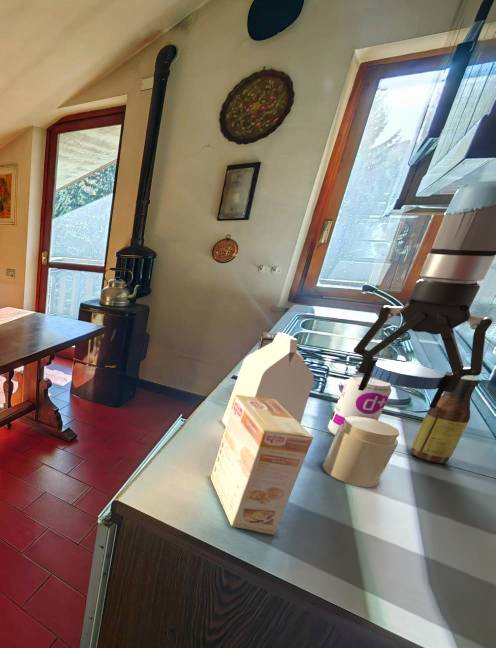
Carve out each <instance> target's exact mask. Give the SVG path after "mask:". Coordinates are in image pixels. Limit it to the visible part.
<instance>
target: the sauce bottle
mask: <svg viewBox="0 0 496 648" xmlns="http://www.w3.org/2000/svg"><path fill="white" fill-rule="evenodd" d="M480 381H481V380H480V379H479V378H477V377H476V376H472V375H467V376H463V377H461V379H460V381H459V383H458V385H457V387H456V388H455V390H454V391H453V392H452V393H450V392H446V391H444V392H443V394H442V395H441V397H440V399H439V401H438V403H437V405H436V407H435V409H434V408H430V407H428V410H427V412H426V414H425V416H424V418H423V420H422V422H421V423H420V424H421V425H420V426H419V429H418V431H417V433H416V435H415V438H414V439H413V443H412V444H411V449H410V453H411V454H412V455H414V456H415V457H417V458H419V459H421V460H424V461H426V462H431V463H435V464H446V463H448V462H449V461H450V458H452V457H453V455H454V452H455V450H456V448H457V446H458V444H459V442H460V440H461V438H462V436H463V434H464V432H465V430H466V429H467V426H468V424H469V422H470V419H471V398H472V395H473V393H474V391H475V388H476V387H478V386H479V384H480Z"/></svg>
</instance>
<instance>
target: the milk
mask: <svg viewBox="0 0 496 648" xmlns="http://www.w3.org/2000/svg"><path fill="white" fill-rule="evenodd" d="M276 334H277V335H276V337H275V338H274V340H273V342H272V343H270V344H268V345H266V346H264V347H263V348H261V349H259V350H258V349H257V350H255V351H253V352H252V353H250V354H248V355H247V356H246V357H244V359H243V361H242V364H241V367H240V369H239V373H238V375H237V378H236V381H235V383H234V386H233V390H232V392H231V395H230V398H229V401H228V403H227V406H226V409H225V411H224V415H223V417H222V420H221V423H222V424H223V425H224V427H226V425H227V422H228V418H229V415H230V412H231V408H232V405H233V402H234V398H235V395H243V396H251V397H261V398H269V399H275V400H276V401H277V402H278V403H279V404H280V405H281V406H282V407H283V408H284V409H285V410H286V411H287V412H288V413H289V414H290V415H291V416H292V417H293V418H294V419H295V420H296V421H297V422H298V423H299V424H300V425H302V424H301V423H302V420H303V416H304V414H305V410H306V407H307V404H308V400H309V397H310V394H311V390H312V387H313V383H314V380H315V376H314V373H313V371H312V370H311V368H310V367H309V366H308V365H307V364H306V362H305V361H304V359H305V358H304V356H303V355H302V354H301V353H300V352H299V351H298V338H295V337H293V336H291V335H289V334H287V333H286V332H277V333H276Z"/></svg>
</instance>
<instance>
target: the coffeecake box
mask: <svg viewBox="0 0 496 648" xmlns="http://www.w3.org/2000/svg"><path fill="white" fill-rule="evenodd" d="M313 440H314V436H313V435H312V434H311V433H309V432H308V430H307V429H305V427H303V425H302V424H299V423H298V422H297V421H296V420H295V419H294V418H293V417H292V416H291V415H290V414H289V413H288V412H287V411H286V410H285V409H284V408H283V407H282V406H281V405H280V404H279V403H278V402H277V401H276V400H275V399H269V398H261V397H251V396H243V395H235V398H234V402H233V405H232V408H231V412H230V415H229V418H228V422H227V425H226V426H225V428H224V432H223V435H222V439H221V442H220V446H219V449H218V453H217V454H216V455H217V456H216V458H215V462H214V466H213V469H212V472H211V475H210V476H211V477H210V480H211V483H212V485H213V487H214V490H215V492H216V494H217V497H218V499H219V502H220V504H221V507H222V508H223V511H224V512H225V515H226V517H227V520H228V522H229V524H230V526H231V528H236V529H237V528H238V529H243V530H249V531H253V532H257V533H262V534H267V535H273V536H275V535H276V531H277V530H278V527H279V524H280V522H281V520H282V517H283V515H284V512H285V510H286V506H287V504H288V502H289V499H290V497H291V494H292V492H293V489H294V487H295V484H296V482H297V479H298V477H299V474H300V472H301V470H302V467H303V465H304V462H305V459H306V458H307V455H308V454H307V453H308V451H309V449H310V448H311V444H312V442H313Z"/></svg>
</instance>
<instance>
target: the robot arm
mask: <svg viewBox="0 0 496 648" xmlns="http://www.w3.org/2000/svg"><path fill="white" fill-rule="evenodd" d="M443 215H444V216H443V219H442V221H441V224H440V226H439V229H438V231H437V234H436V235H435V239H434V241H433V244H432V246H431V249H430V250H429V252H428V254H427V255H426V259H425V261H424V263H423V266H422V268H421V270H420V273H419V276H420V277H422V278H421V279H419V280H416V282H415V285H414V287H413V290H412V291H411V294H410V296H409V299H408V301H407V303H406V304H405V305H403V306H391V305H389V304H386V305H384V306H382V307H381V308H380V310H379V314H378V316H377V317H378V318H377V319H376V321H375V322H374V323H373V324H372V325H371V327H370V328H369V329H368V331H367V332H366V333H365V334H364V335H363V337H362V338H361V339H360V340H359V342H358V343H357V345H356V346H355V347H354V348H353V353H355V354H358V355H359V356H361V357H362V360H361V362H360V365H359V367H358V369H357V371H358V373H359V374H363V375H362V376H363V379H362V381H361V383H360V386H359V388H358V390H361V391H363V390H364V389H365V388H366V386H367V384H368V382H369V379H370V377H372V375H371V371H372V369H373V366H374V364H375V362H377V361H379V358H378V357H374V356H376V355H377V354H378V353H379V352H381V351H382V350H384V349H385V348H386V347H388V346H389V345H390V344H392V343H393V342H395V341H396V340H397V339H399V338H400V337H402V336H403V335H404V334H406V333H407V332H409V331H410V330H411V331H412V332H416V333H428V334H430V335H436V336H437V335H440V338H441V340H442V343H443V346H444V349H445V352H446V353H445V354H446V356H447V360H448V363H449V366H450V369H451V371H446V372H445V374H444V375H445V376H444V378H443V380H442V382H441V384H440V386H439V388H437V389H436V392H435V394H434V395H433V398H432V400H431V402H430V404H429V406H428V408H434V409H435V407H436V405H437V403H438V401H439V399H440V397H441V396H442V395H443V394H444V392H445V391H446V392H450V393H452V392H453V391H454V390H455V388H456V387H457V385H458V383H459V381H460V379H461V377H463V376H472V377H477V376H481V374H482V370H483V363H484V353H485V343H486V335H487V334H486V333H487V331H488V330H489V328H490V327H491V325H492V324H493V321H494V319H493V318H492V317H490V316H485V317H484V316H477V315H473V314H471V312H470V309H471V307H472V304H473V302H474V301H475V299H476V297H477V294H478V292H479V290H480V288H481V286H480V283H478V282H481V281H484V279H485V278H486V275H487V274H488V272H489V270H490V268H491V266H492V264H493V262H494V260H495V258H496V180H486V181H485V180H484V181H483V180H482V181H473V182H468V183H466V184H463V185H461V186H460V187H459V188H457V190H456V192H455V193H454V195H453V197H452V199H451V201H450V203H449V205H448V206H447V209H446V210H445V212H444V214H443ZM397 314H400V315H401V317H402V319H403V321H404V324H402V325H401V326H400V327H398V328H397V329H396V330H395V331H393V332H392V333H390V334H389V335H388V336H387V337H385V338H384V339H382V340H381V341H379V343H377V344H376V345H375V346H373V347H372V348H371V349H369V348H367V347H368V345H369V344H370V343H371V342H372V341H373V340H374V338H375V337H376V335H378V334H379V332H380V331H381V330H382V329H383V327H384V326H385V325H386V324H387V322H388V320H390V319H391V318H394V317H395V316H396V315H397ZM466 322H467V323H469V324H470V325H469V328H470V329H471V330H474V332H473V334H472V345H471V356H470V365H469V366H464V363H463V360H462V357H461V353H460V350H459V346H458V342H457V339H456V335H455V331H454V329H455V328H457V327H459V326H460V325H463V324H465V323H466Z"/></svg>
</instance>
